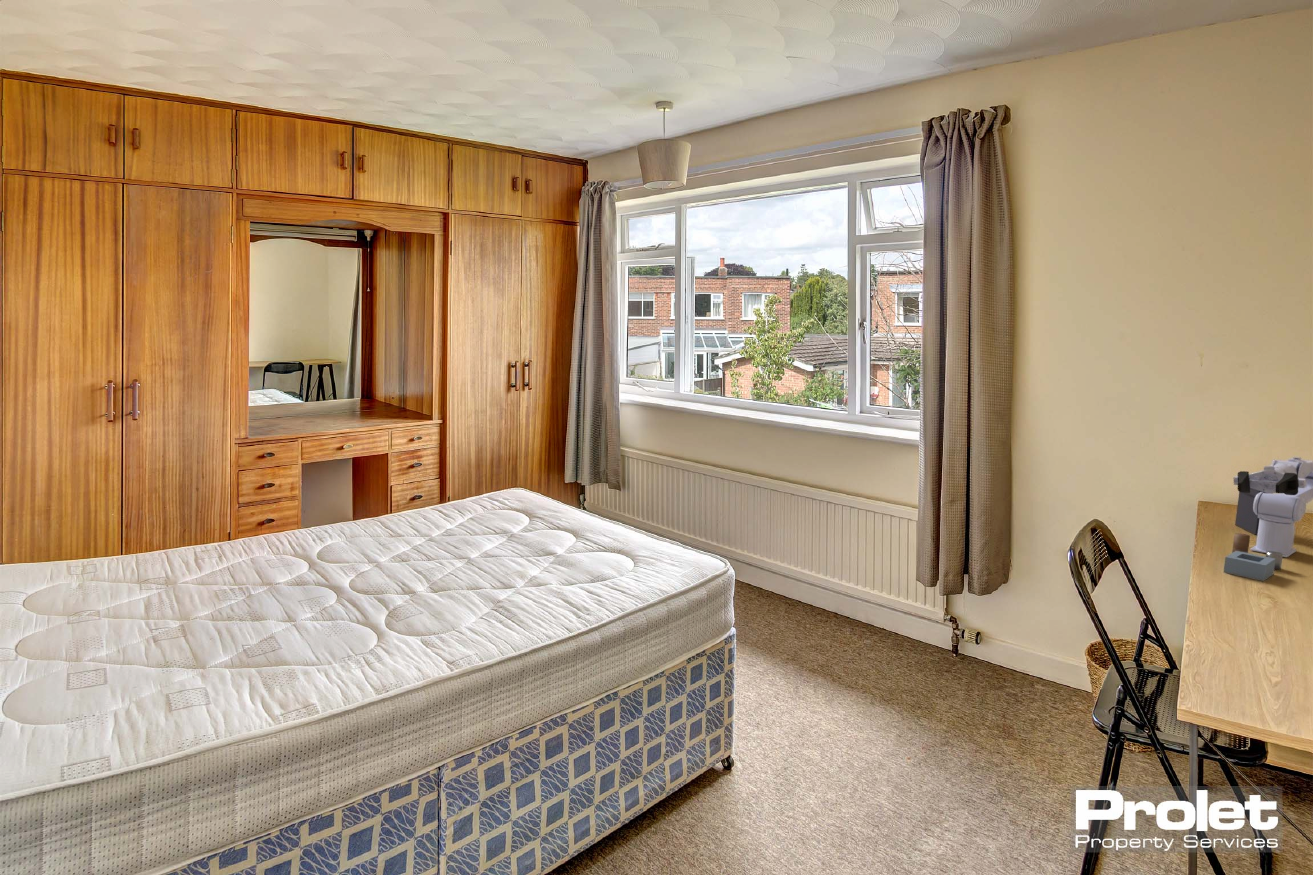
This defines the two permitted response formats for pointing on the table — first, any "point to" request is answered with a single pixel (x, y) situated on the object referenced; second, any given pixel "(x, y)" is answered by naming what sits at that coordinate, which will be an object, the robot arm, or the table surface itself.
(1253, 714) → the table surface
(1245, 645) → the table surface
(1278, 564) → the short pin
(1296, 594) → the table surface
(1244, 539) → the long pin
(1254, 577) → the hole block
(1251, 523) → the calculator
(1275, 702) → the table surface
